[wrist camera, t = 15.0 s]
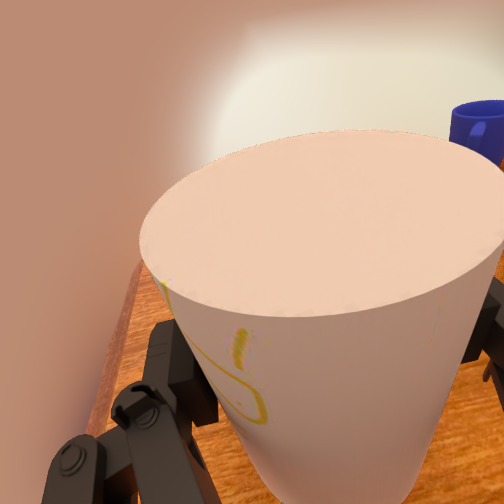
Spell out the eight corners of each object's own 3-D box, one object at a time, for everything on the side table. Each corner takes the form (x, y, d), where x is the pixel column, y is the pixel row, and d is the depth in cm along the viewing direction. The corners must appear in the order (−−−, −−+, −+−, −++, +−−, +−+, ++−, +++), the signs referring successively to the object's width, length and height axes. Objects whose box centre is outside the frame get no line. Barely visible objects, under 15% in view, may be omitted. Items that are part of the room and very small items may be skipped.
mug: (429, 193, 46) (440, 127, 40) (446, 161, 53) (457, 101, 47) (495, 200, 42) (519, 126, 36) (504, 164, 48) (525, 98, 43)
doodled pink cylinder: (242, 354, 18) (170, 163, 11) (379, 331, 17) (396, 113, 10) (248, 539, 11) (78, 360, 4) (467, 512, 11) (682, 253, 4)
